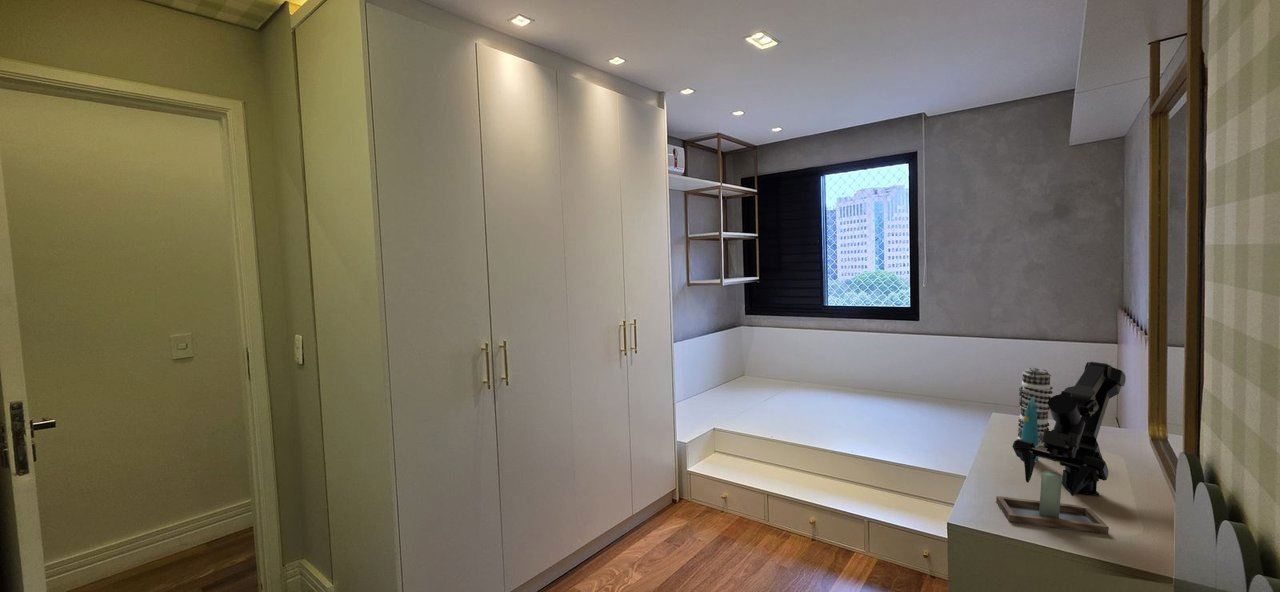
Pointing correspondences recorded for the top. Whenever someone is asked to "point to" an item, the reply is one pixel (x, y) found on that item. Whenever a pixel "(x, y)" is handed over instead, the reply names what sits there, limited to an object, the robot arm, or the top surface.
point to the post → (1050, 494)
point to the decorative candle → (1035, 398)
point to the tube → (1031, 425)
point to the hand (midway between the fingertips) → (1048, 488)
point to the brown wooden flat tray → (1068, 518)
